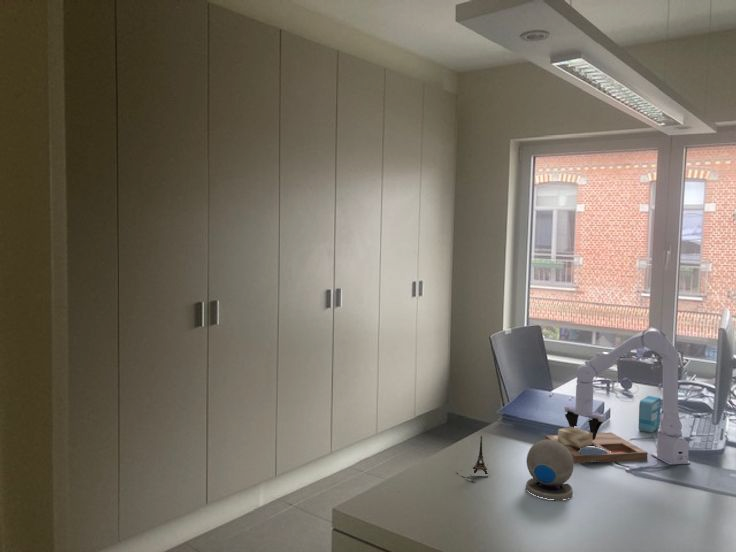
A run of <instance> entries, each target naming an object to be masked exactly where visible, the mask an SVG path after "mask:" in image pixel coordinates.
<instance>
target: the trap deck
mask: <svg viewBox="0 0 736 552" xmlns="http://www.w3.org/2000/svg"><path fill="white" fill-rule="evenodd" d="M547 439H549V440H555V441H558V434H551V435H550V434H548V435H547V434H546V435H545V439H544V440H547ZM558 442H560V441H558ZM560 443H562V444H563V445H564V446H565V447H566V448H567V449H568V450H569V451H570V453H571V455H572V458H573V462H574V464H575V463H581V464H586V463H585V462H591V461H593V462H594V461H596V462H597V461H599V463H613V462H615V461H616V462H633V461H647V460H648V451H646V450H643V449H642V448H640V447H638V446H637V445H635V444H633V443H631V442H629V441H627V440H626V439H624V438H622V437H620V436H618V435H617V434H615V433H613V432H597V434H596V438H595V439H594V440H592V445H589V446H595V447H599V448H602V449H604V450H605V451H607V454H601V455H582V454H581V453H579V452H578V451H579V450H580V448H578V447H575V446H572V445H569V444H566V443H563V442H560ZM610 451H611V452H610ZM616 462H615V463H616Z"/></svg>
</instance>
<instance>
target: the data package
mask: <svg viewBox="0 0 736 552" xmlns="http://www.w3.org/2000/svg"><path fill="white" fill-rule="evenodd" d="M638 404H639V405H638V406H639V407H638V427H637V428H638V431H639V432H645V433H647V434H648V433H649V434H652V433H653V432H655V431H656V430H658V429H659V428H660V427H661V423H660V420H659V416H660V413H661V408H662V407H661V404H662V399H661V397H657V396H653V395H651V396H650V395H647V396H646V397H644V398H641V400H640V401H639V403H638Z"/></svg>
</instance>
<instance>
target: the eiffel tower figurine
mask: <svg viewBox="0 0 736 552" xmlns="http://www.w3.org/2000/svg"><path fill="white" fill-rule="evenodd" d="M480 434H481V435H480V442H479V453H478V456H477V461H476V462H475V465H473V466H474V467H473V469H475V470H474V473H476V472H477V471H478V470H483V471H484V472H485V474H488V473H487V471H486V470H488V468H487V467H486V466H485V464H486V463H485V461H484V456H483V435H482V432H481V433H480ZM480 461H481V462H480Z"/></svg>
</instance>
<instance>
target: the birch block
mask: <svg viewBox="0 0 736 552" xmlns="http://www.w3.org/2000/svg"><path fill="white" fill-rule="evenodd" d="M557 435H558V441H560V442H563V443H566V444H569V445H572V446H575V447H578V448H583V447H586V446H589V445H592V440H593V433H591V432H590V431H587V430H584V429H581V428H578V427H577V428H574V427H571V426H566V427H563V428H559V429H558V430H557Z"/></svg>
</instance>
